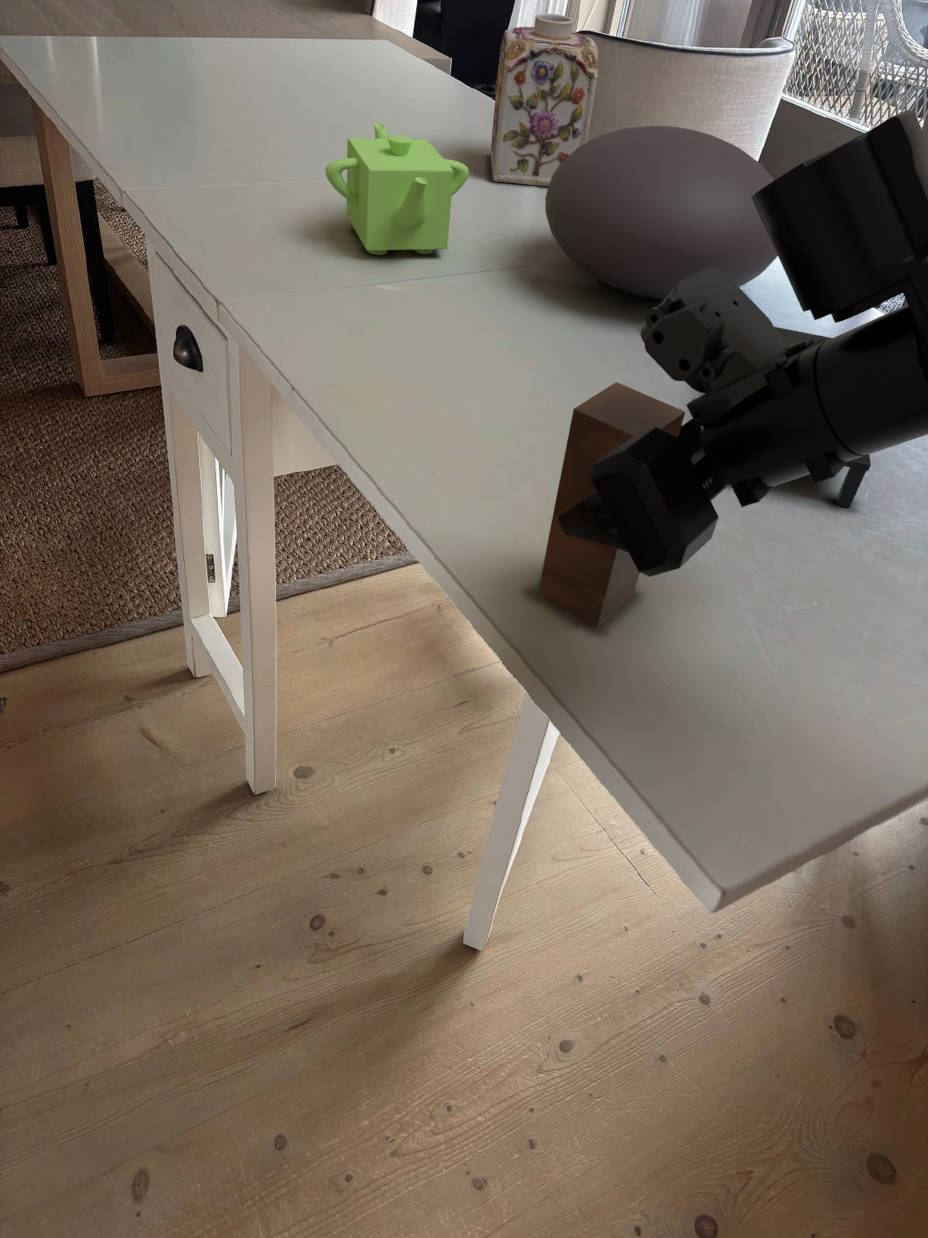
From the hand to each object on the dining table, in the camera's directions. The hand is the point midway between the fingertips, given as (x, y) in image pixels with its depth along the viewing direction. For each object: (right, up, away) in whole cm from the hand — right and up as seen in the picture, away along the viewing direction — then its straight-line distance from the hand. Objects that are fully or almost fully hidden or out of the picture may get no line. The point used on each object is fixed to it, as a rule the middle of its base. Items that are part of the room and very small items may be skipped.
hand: (604, 493), depth 56 cm
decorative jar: (+1, +52, +71) cm, 88 cm away
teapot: (-16, +34, +47) cm, 60 cm away
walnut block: (0, -6, +5) cm, 8 cm away
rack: (+19, +9, +24) cm, 32 cm away
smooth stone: (+12, +29, +45) cm, 55 cm away
